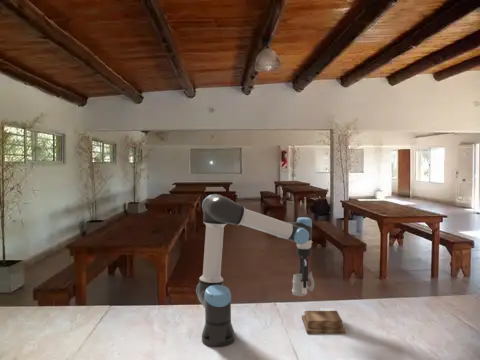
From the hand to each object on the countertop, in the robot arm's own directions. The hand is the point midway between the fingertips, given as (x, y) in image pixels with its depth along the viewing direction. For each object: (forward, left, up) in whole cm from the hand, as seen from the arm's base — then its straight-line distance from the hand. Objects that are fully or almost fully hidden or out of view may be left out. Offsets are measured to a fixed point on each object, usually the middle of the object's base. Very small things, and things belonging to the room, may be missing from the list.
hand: (303, 290), depth 217 cm
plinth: (+8, -15, -12) cm, 21 cm away
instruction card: (+14, +1, -12) cm, 18 cm away
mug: (0, 0, -2) cm, 2 cm away
